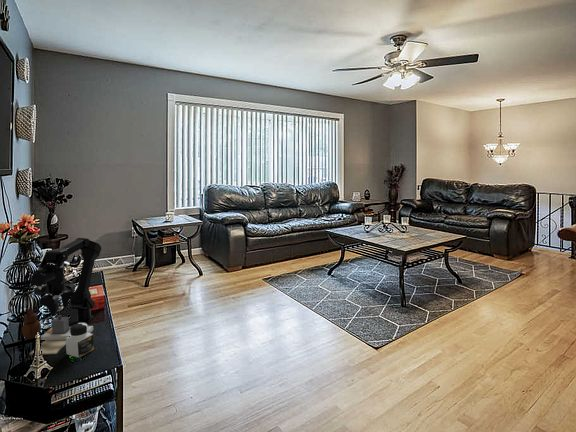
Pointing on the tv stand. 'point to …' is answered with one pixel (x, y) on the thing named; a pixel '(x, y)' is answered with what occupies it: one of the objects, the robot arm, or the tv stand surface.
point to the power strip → (59, 335)
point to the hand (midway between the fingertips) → (59, 311)
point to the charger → (60, 325)
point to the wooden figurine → (30, 325)
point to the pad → (51, 347)
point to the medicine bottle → (79, 340)
